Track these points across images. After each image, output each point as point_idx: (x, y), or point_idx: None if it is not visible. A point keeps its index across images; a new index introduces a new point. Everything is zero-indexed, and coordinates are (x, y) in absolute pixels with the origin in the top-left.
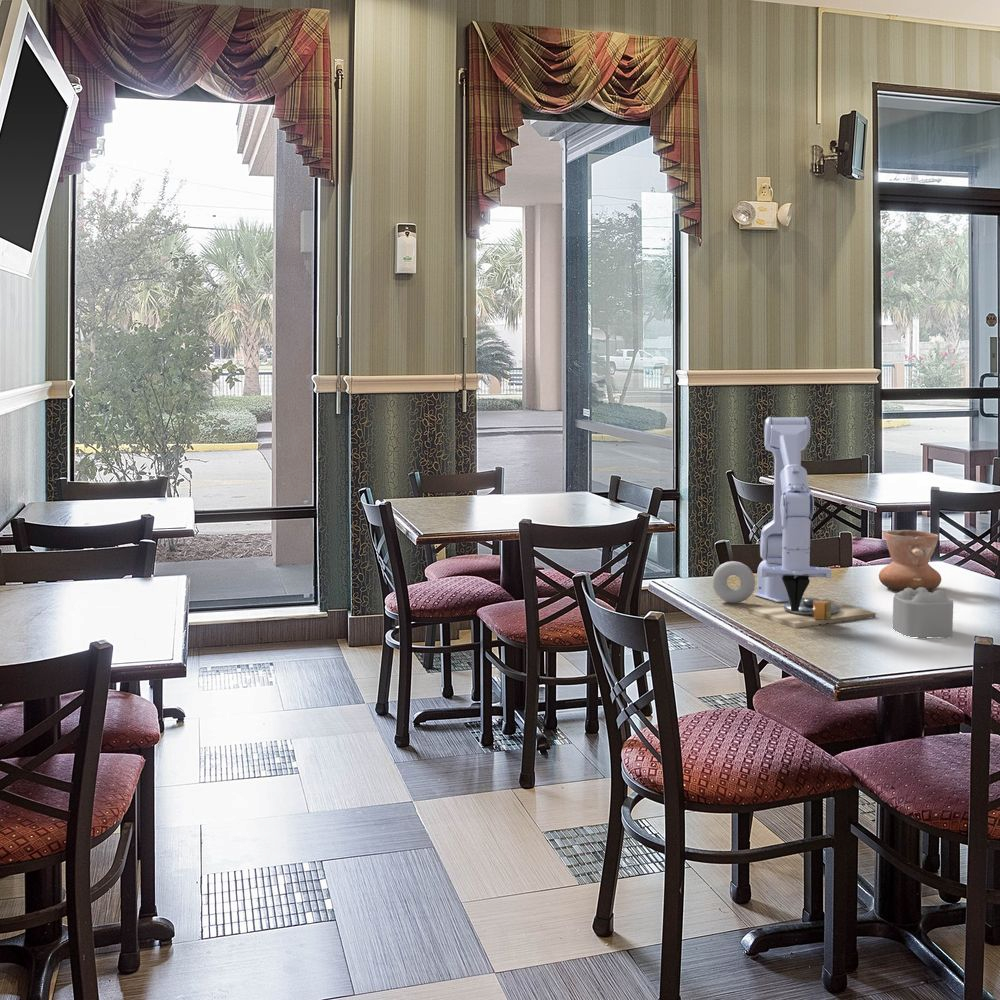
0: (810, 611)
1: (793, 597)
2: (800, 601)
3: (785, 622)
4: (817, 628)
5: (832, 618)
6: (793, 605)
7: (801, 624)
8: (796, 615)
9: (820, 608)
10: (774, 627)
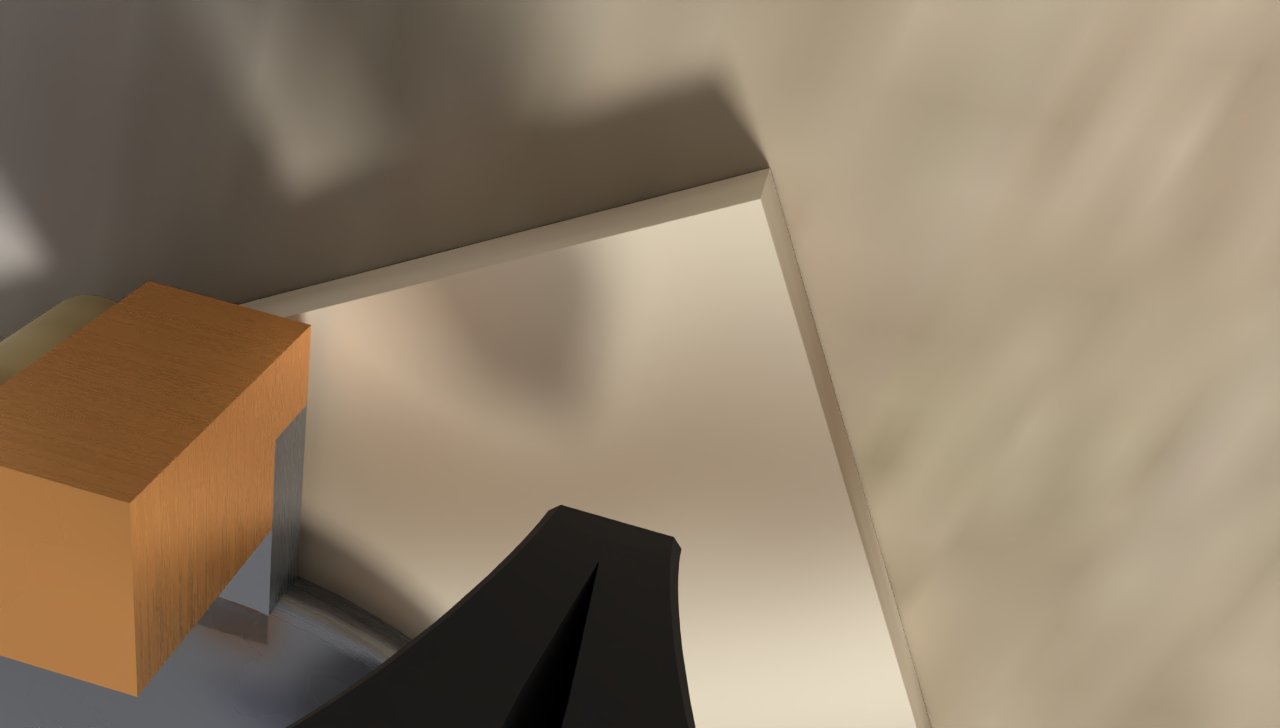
0: (285, 628)
1: (613, 724)
2: (457, 606)
3: (837, 426)
4: (364, 65)
5: None
6: (641, 595)
7: (610, 221)
8: None
9: (93, 400)
10: (1131, 292)
